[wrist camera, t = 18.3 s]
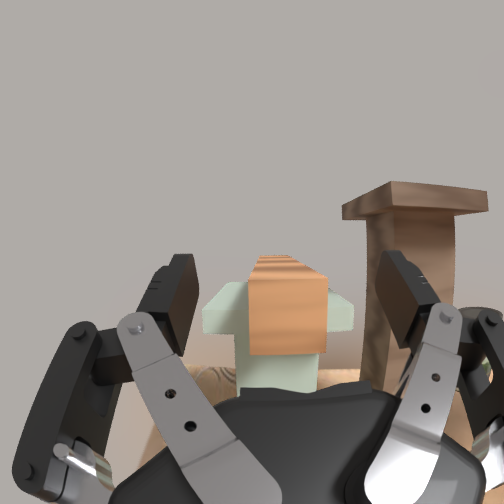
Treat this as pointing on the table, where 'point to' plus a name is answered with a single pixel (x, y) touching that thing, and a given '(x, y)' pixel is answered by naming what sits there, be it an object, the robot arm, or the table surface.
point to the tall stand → (407, 257)
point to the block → (287, 307)
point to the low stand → (268, 366)
